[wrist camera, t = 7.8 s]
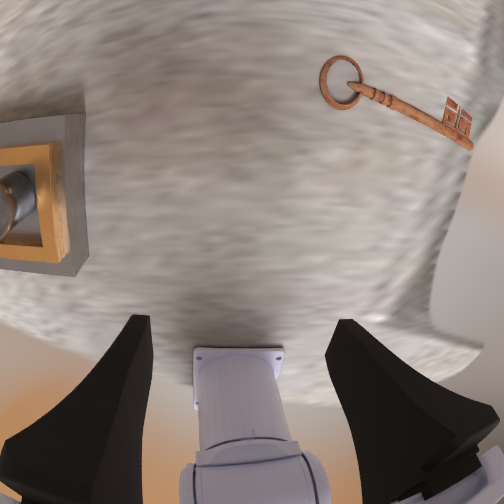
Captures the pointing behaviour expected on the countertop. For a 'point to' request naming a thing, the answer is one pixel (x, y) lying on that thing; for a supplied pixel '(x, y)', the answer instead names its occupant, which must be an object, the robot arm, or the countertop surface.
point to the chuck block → (47, 194)
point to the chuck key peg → (14, 201)
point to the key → (403, 107)
